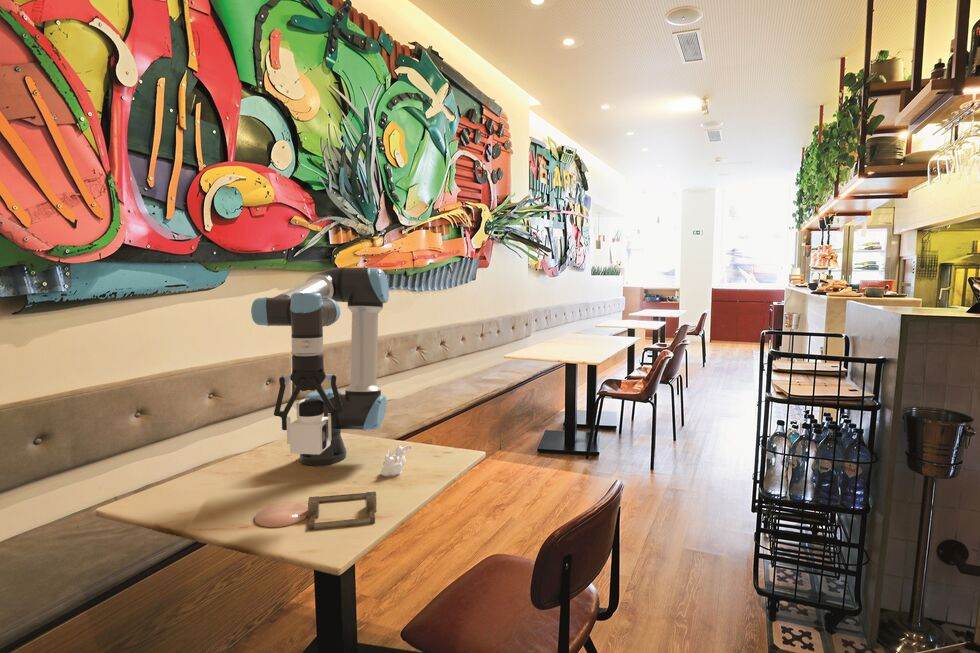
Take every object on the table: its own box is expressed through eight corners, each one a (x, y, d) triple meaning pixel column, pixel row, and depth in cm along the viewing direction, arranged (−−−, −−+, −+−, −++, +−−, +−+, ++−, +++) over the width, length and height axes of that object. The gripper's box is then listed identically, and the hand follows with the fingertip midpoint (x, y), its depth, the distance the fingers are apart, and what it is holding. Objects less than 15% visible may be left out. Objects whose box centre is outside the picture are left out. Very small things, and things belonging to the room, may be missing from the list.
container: (331, 445, 146) (330, 397, 145) (319, 455, 139) (318, 404, 137) (302, 444, 147) (301, 396, 146) (289, 453, 139) (288, 403, 138)
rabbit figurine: (402, 465, 181) (402, 436, 180) (419, 470, 176) (419, 440, 175) (375, 476, 171) (375, 445, 170) (393, 481, 166) (393, 450, 165)
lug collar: (311, 501, 151) (310, 487, 151) (374, 496, 155) (374, 482, 155) (306, 530, 134) (305, 514, 134) (377, 523, 138) (377, 507, 138)
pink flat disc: (259, 507, 147) (259, 505, 147) (310, 503, 150) (310, 501, 150) (250, 529, 134) (250, 527, 134) (307, 524, 137) (307, 522, 137)
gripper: (259, 357, 133) (261, 448, 135) (353, 354, 139) (354, 441, 141) (262, 353, 140) (265, 439, 142) (351, 350, 146) (353, 433, 148)
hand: (309, 440), depth 142 cm, fingers closed on container, 9 cm apart
